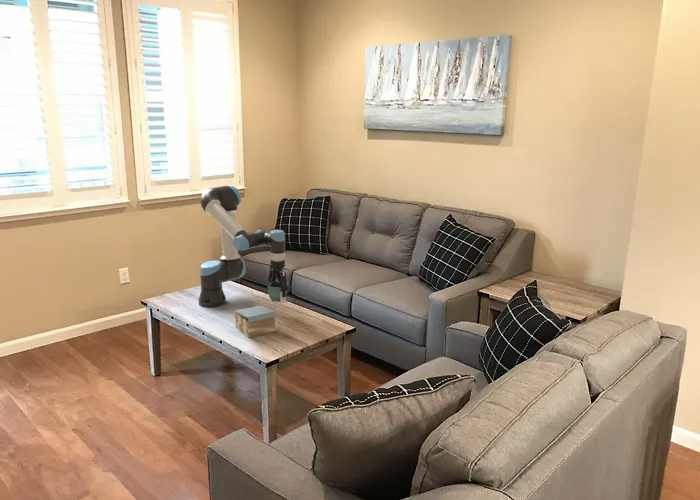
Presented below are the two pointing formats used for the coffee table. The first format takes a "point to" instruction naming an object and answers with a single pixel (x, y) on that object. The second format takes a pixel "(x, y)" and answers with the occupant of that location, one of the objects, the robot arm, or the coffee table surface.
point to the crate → (255, 326)
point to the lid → (256, 313)
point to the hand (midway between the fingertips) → (277, 299)
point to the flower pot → (274, 291)
